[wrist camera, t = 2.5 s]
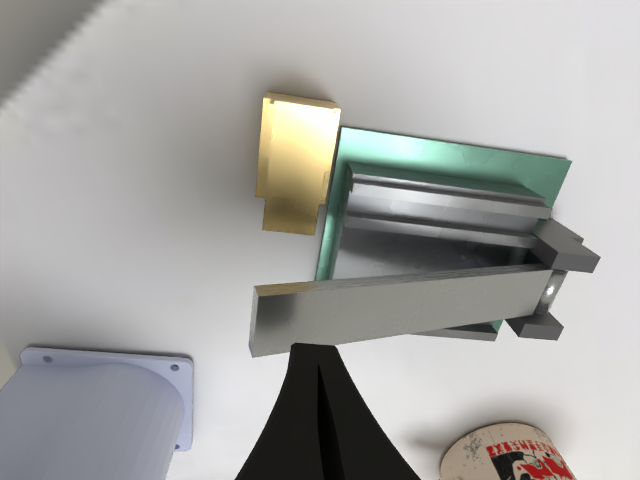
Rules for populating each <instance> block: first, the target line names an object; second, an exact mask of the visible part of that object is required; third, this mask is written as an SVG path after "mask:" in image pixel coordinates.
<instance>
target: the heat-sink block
mask: <svg viewBox="0 0 640 480" xmlns="http://www.w3.org/2000/svg"><path fill="white" fill-rule="evenodd" d="M571 163H572V161H570V160H568V159H562V158H555V157H548V156H541V155H535V154H528V153H521V152H514V151H507V150H501V149H494V148H487V147H480V146H473V145H466V144H460V143H453V142H446V141H439V140H432V139H425V138H419V137H412V136H405V135H398V134H391V133H385V132H378V131H371V130H364V129H357V128H350V127H344V126H341V132H340V138H339V144H338V149H337V155H336V161H335V167H334V173H333V179H332V185H331V191H330V197H329V202H328V208H327V214H326V220H325V226H324V232H323V238H322V244H321V250H320V255H319V261H318V267H317V273H316V279H315V281H323V280H335V279H348V278H361V277H373V276H386V275H398V274H411V273H423V272H436V271H448V270H461V269H474V268H486V267H499V266H511V265H522V263H523V261H524V259H525V256H526V254H527V252H528V249H527V248H533V249H535V248H536V245H537V243H538V241H539V239H538V238H537V237H536V236H534V235H533V234H532V232H533V230H534V228H535V225H536V223H537V221H538V220H543V221H546V220H547V219H548V218H549V216H550V213H551V211H552V207H553V204H554V202H555V200H556V197H557V195H558V193H559V190H560V188H561V186H562V184H563V181H564V179H565V177H566V174H567V172H568V170H569V168H570V165H571ZM502 321H503V319H502V320H495V321H489V322H482V323H476V324H469V325H462V326H456V327H449V328H443V329H436V330H430V331H423V332H417V333H410V334H412V335H424V336H437V337H449V338H461V339H473V340H485V341H495V339H496V337H497V335H498V330H499V328H500V326H501V324H502Z"/></svg>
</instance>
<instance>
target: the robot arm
mask: <svg viewBox="0 0 640 480" xmlns="http://www.w3.org/2000/svg"><path fill="white" fill-rule="evenodd" d="M48 356H50V357H51V358H50V357H48ZM20 359H21V364H22V366H21V367H20V368H19V369H18V370H17V371H16V373H15V374H14V375H13V376H12V377H11V378H10V380H9V381H8V382H7V383H6V384H5V385H4V386H3V388H2V389H1V390H0V480H165V479H166V475H167V472H168V469H169V465H170V462H171V459H172V455H173V452H174V451H188V450H190V449H191V446H192V424H193V362H192V361H191V360H190V359H188V358H179V357H165V356H151V355H136V354H122V353H107V352H93V351H79V350H64V349H50V348H36V347H28V348H25V349H24V350H23V351H22V353H21V354H20ZM174 364H175V365H177V366H174ZM235 480H421V479H420V478H419V477H418V475H417V474H416V473H415V472H414V471H413V469H412V468H411V467H410V466H409V464H408V463H407V462H406V461H405V460H404V458H403V457H402V456H401V454H400V453H399V452H398V451H397V449H396V448H395V447H394V445H393V444H392V443H391V441H390V440H389V438H388V437H387V436H386V434H385V433H384V431H383V430H382V428H381V427H380V425H379V424H378V422H377V421H376V419H375V418H374V416H373V415H372V413H371V412H370V410H369V408H368V407H367V405H366V403H365V402H364V400H363V398H362V397H361V395H360V393H359V391H358V390H357V388H356V386H355V384H354V382H353V381H352V379H351V377H350V375H349V373H348V371H347V369H346V367H345V365H344V363H343V361H342V359H341V356H340V354H339V352H338V349H337V348H336V347H335V346H334V345H321V344H308V343H294V344H292V345H291V350H290V356H289V363H288V369H287V373H286V376H285V379H284V382H283V385H282V388H281V390H280V393H279V396H278V398H277V401H276V403H275V405H274V407H273V410H272V412H271V414H270V416H269V419H268V421H267V423H266V425H265V427H264V429H263V431H262V433H261V435H260V437H259V439H258V441H257V442H256V444H255V446H254V448H253V450H252V452H251V453H250V455H249V457H248V458H247V460H246V462H245V463H244V465H243V467H242V469H241V470H240V472H239V473H238V475H237V477H236V478H235Z"/></svg>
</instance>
